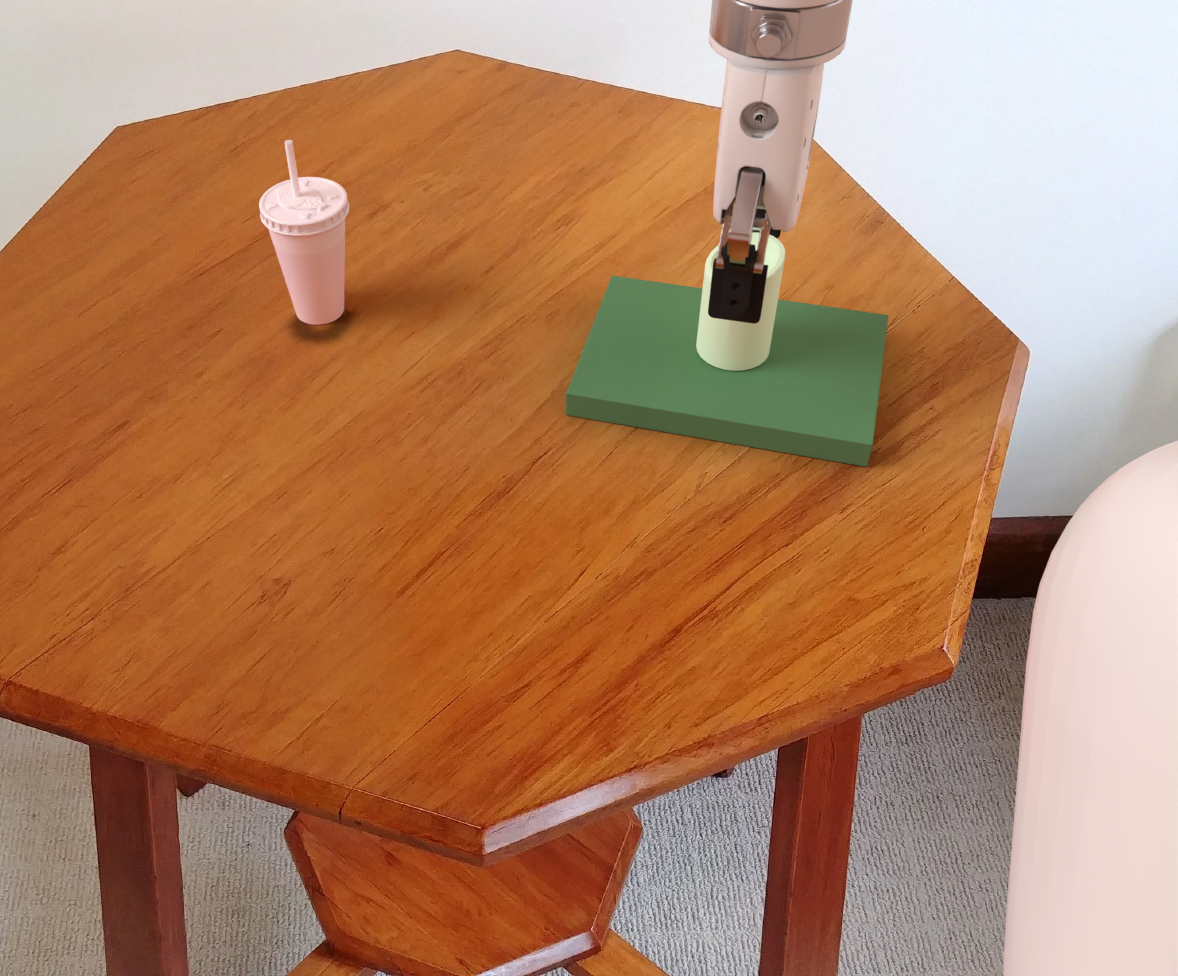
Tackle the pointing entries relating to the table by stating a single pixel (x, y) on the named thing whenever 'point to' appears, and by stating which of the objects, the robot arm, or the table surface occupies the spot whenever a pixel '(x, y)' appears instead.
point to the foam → (733, 375)
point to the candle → (740, 340)
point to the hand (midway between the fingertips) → (745, 274)
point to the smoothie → (309, 241)
